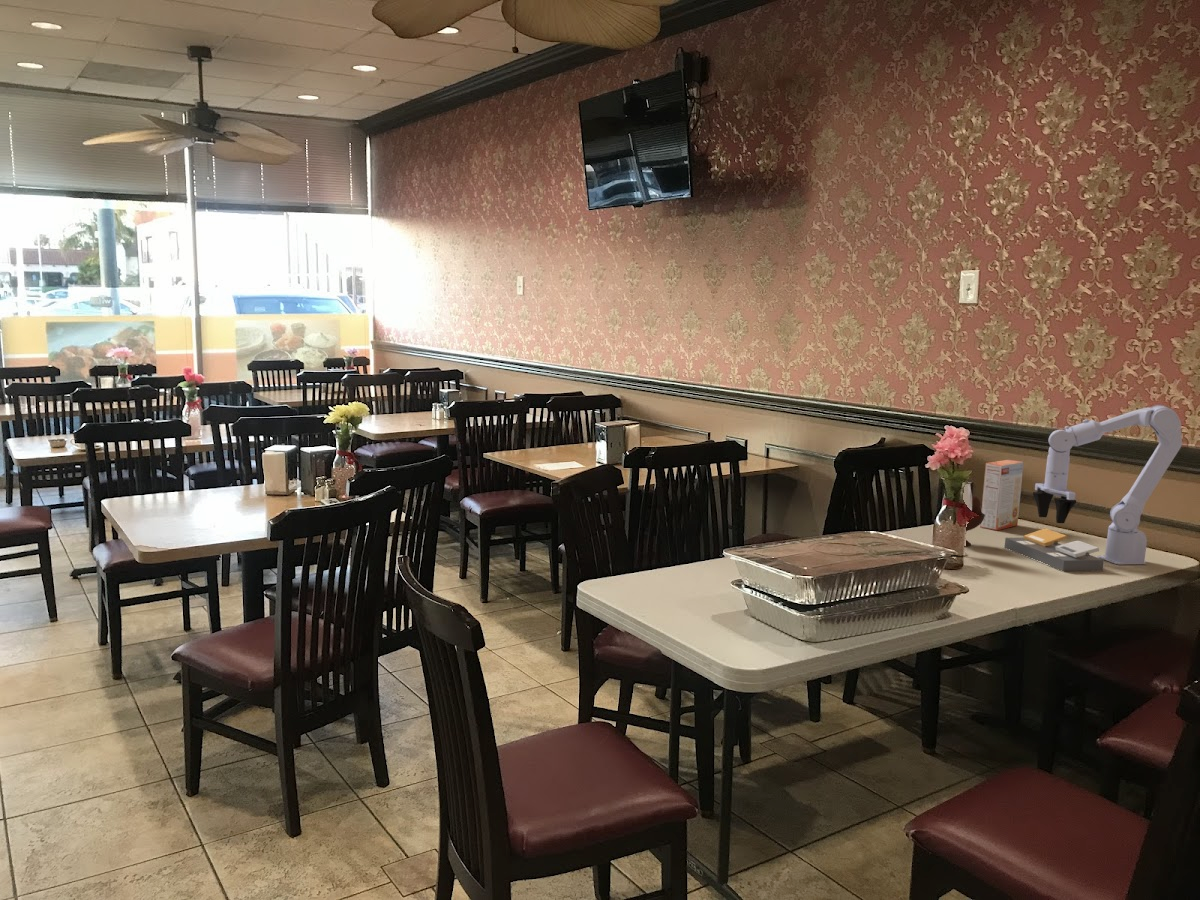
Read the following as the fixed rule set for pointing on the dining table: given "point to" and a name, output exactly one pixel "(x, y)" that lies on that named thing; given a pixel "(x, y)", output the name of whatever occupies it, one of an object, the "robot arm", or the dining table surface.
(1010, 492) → the cracker box
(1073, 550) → the rocker
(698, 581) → the dining table surface
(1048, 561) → the rocker switch panel
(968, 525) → the ice cream bowl
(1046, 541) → the plate
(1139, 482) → the robot arm
